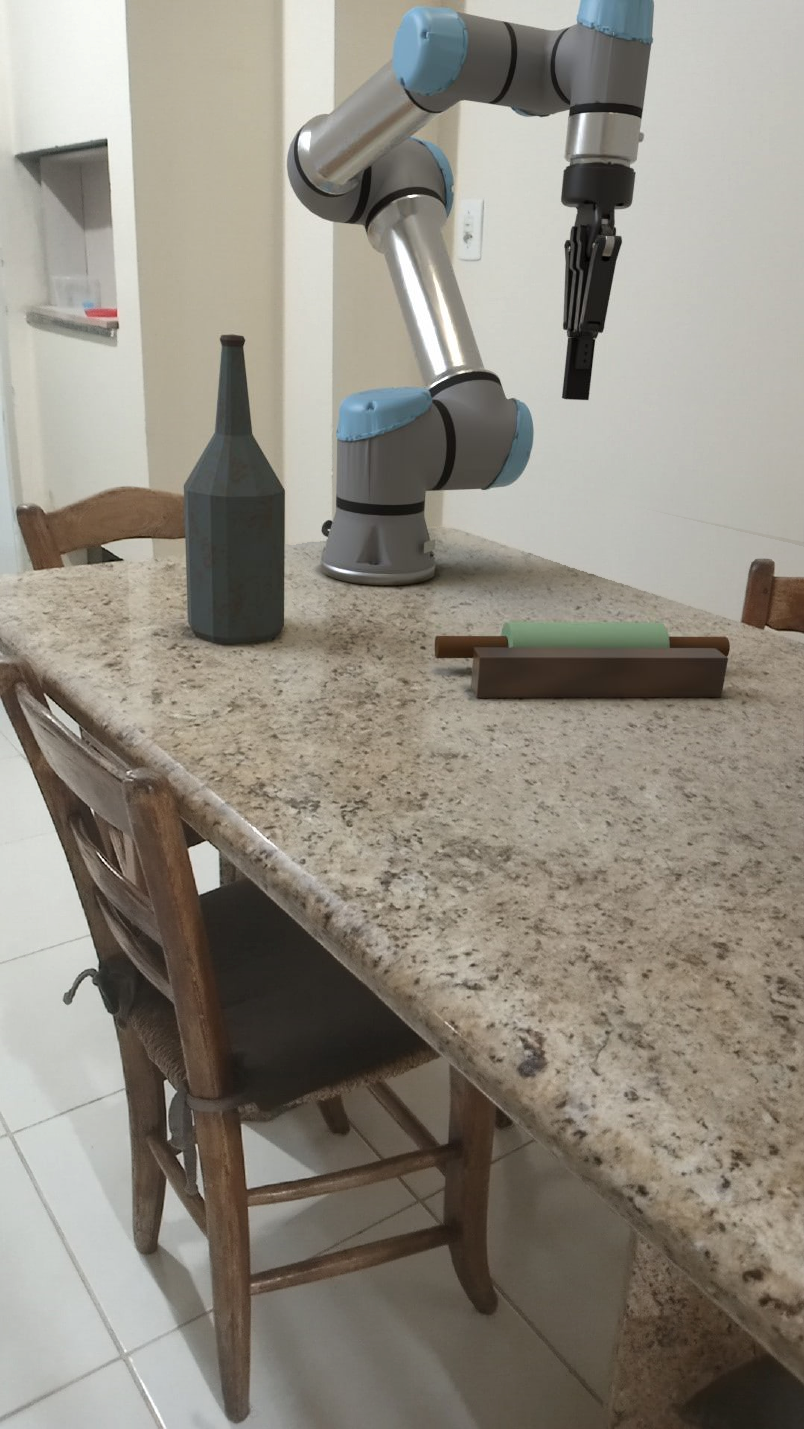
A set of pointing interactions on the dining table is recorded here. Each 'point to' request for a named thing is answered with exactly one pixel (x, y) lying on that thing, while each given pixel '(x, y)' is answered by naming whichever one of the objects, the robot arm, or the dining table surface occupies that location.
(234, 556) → the bottle
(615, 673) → the bar
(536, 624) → the rolling pin
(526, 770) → the dining table surface
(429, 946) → the dining table surface
